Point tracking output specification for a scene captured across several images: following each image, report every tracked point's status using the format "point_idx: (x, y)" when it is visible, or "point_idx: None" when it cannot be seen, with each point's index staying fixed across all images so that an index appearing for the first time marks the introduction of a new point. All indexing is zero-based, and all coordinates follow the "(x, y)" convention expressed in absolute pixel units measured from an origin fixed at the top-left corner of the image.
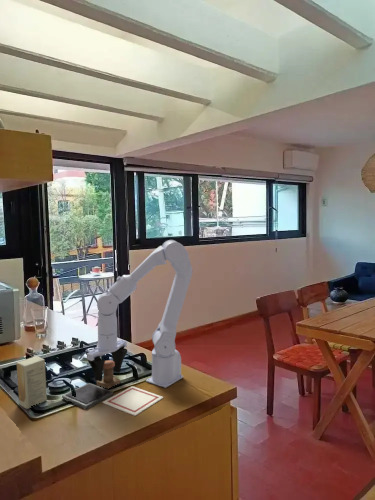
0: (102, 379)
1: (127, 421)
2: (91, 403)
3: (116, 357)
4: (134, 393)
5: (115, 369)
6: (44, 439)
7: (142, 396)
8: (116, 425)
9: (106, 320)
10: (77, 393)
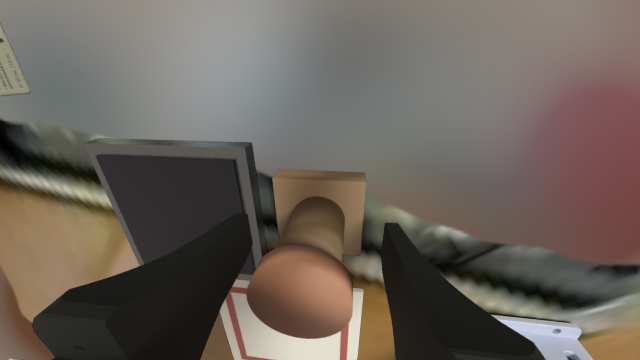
0: (306, 190)
1: (209, 355)
2: None
3: (402, 331)
4: None
5: (384, 244)
6: (17, 266)
7: (320, 343)
8: None
9: None
10: (144, 189)
